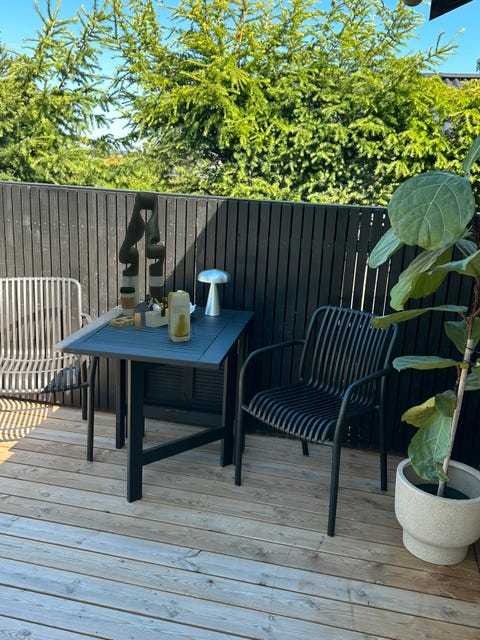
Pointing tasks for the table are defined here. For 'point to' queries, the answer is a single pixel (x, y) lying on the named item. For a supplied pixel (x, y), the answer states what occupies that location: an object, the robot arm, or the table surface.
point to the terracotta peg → (137, 321)
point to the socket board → (123, 321)
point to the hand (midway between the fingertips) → (157, 315)
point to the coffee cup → (127, 300)
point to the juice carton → (179, 316)
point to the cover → (156, 318)
